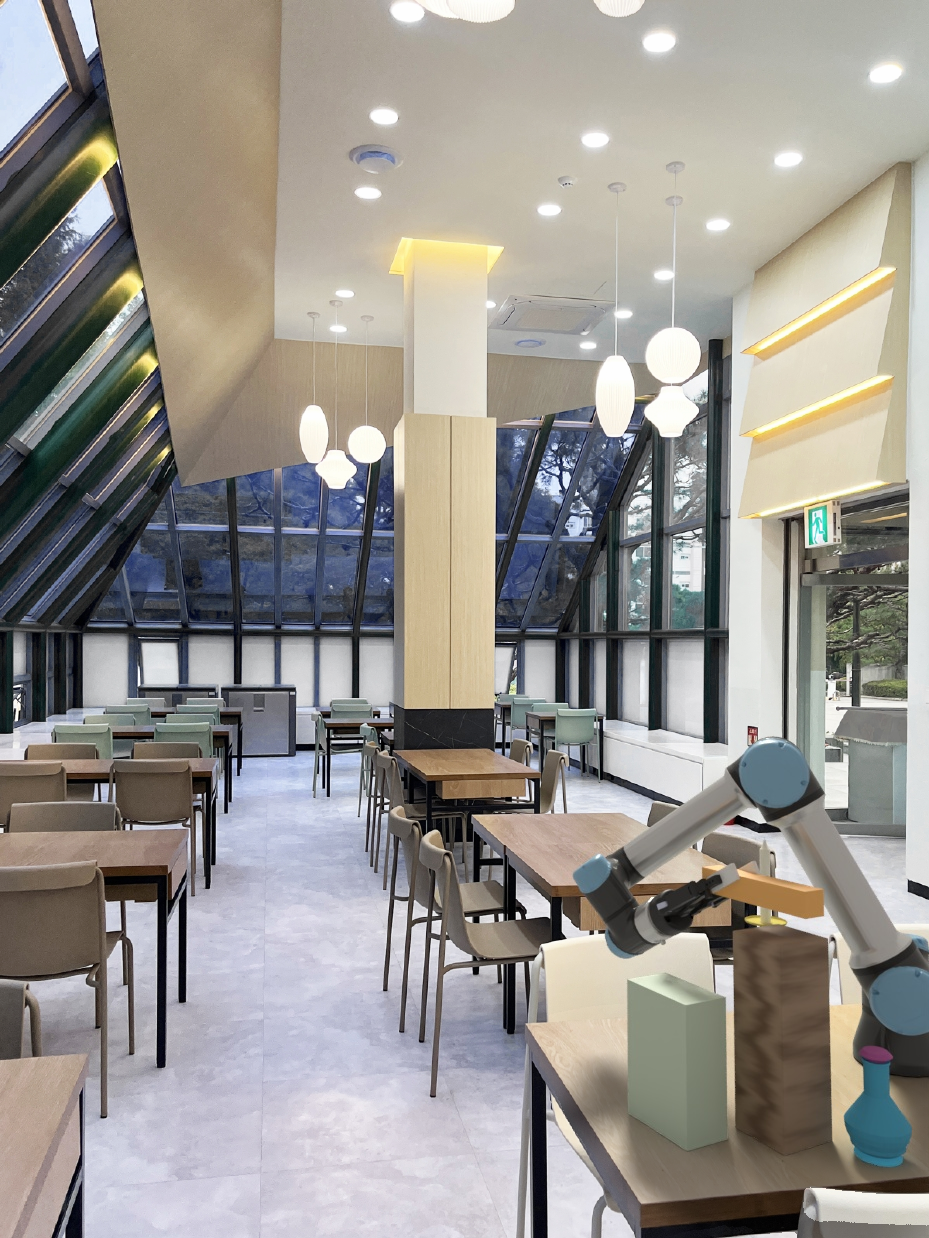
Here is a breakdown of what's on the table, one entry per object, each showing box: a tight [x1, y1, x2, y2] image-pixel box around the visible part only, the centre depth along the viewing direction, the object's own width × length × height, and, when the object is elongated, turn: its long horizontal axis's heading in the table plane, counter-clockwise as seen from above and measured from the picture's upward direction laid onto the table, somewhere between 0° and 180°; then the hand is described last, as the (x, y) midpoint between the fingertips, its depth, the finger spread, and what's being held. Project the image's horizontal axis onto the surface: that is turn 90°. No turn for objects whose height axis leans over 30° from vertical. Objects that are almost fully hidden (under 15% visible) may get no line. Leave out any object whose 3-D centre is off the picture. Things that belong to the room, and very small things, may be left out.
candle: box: [744, 836, 788, 927], centre depth 194 cm, size 10×10×38 cm
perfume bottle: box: [843, 1046, 913, 1168], centre depth 137 cm, size 9×9×15 cm
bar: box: [701, 864, 825, 920], centre depth 150 cm, size 22×4×4 cm, turn 28°
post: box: [732, 924, 833, 1156], centre depth 144 cm, size 10×10×30 cm
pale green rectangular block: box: [626, 972, 729, 1152], centre depth 146 cm, size 14×8×21 cm, turn 28°
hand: (746, 869), depth 152 cm, fingers closed on bar, 4 cm apart
